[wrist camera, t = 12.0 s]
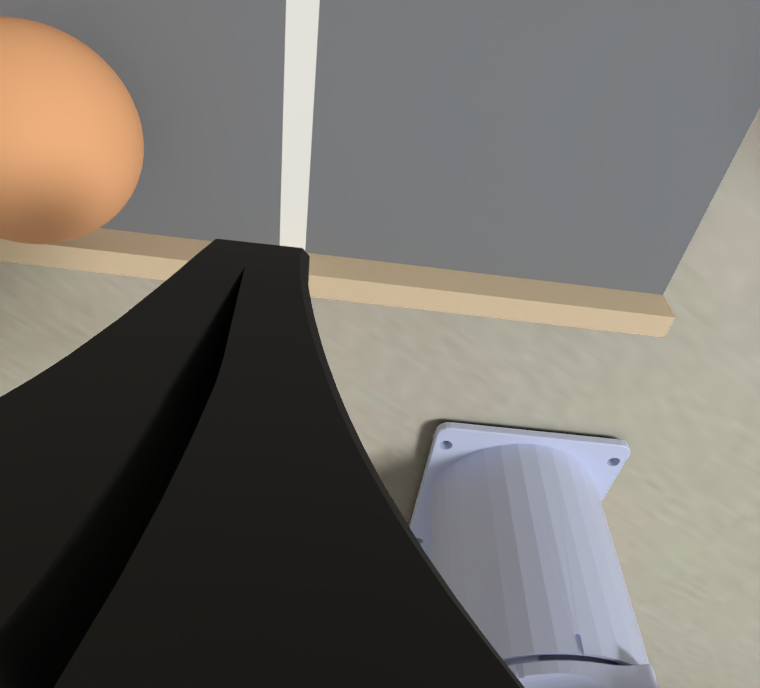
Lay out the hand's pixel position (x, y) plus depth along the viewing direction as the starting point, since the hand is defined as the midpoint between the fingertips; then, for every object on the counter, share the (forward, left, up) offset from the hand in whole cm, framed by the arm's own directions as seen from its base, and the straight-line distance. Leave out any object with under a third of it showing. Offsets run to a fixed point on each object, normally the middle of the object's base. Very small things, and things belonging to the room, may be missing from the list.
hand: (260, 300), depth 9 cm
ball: (-1, +7, -7) cm, 9 cm away
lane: (0, 0, -10) cm, 10 cm away
